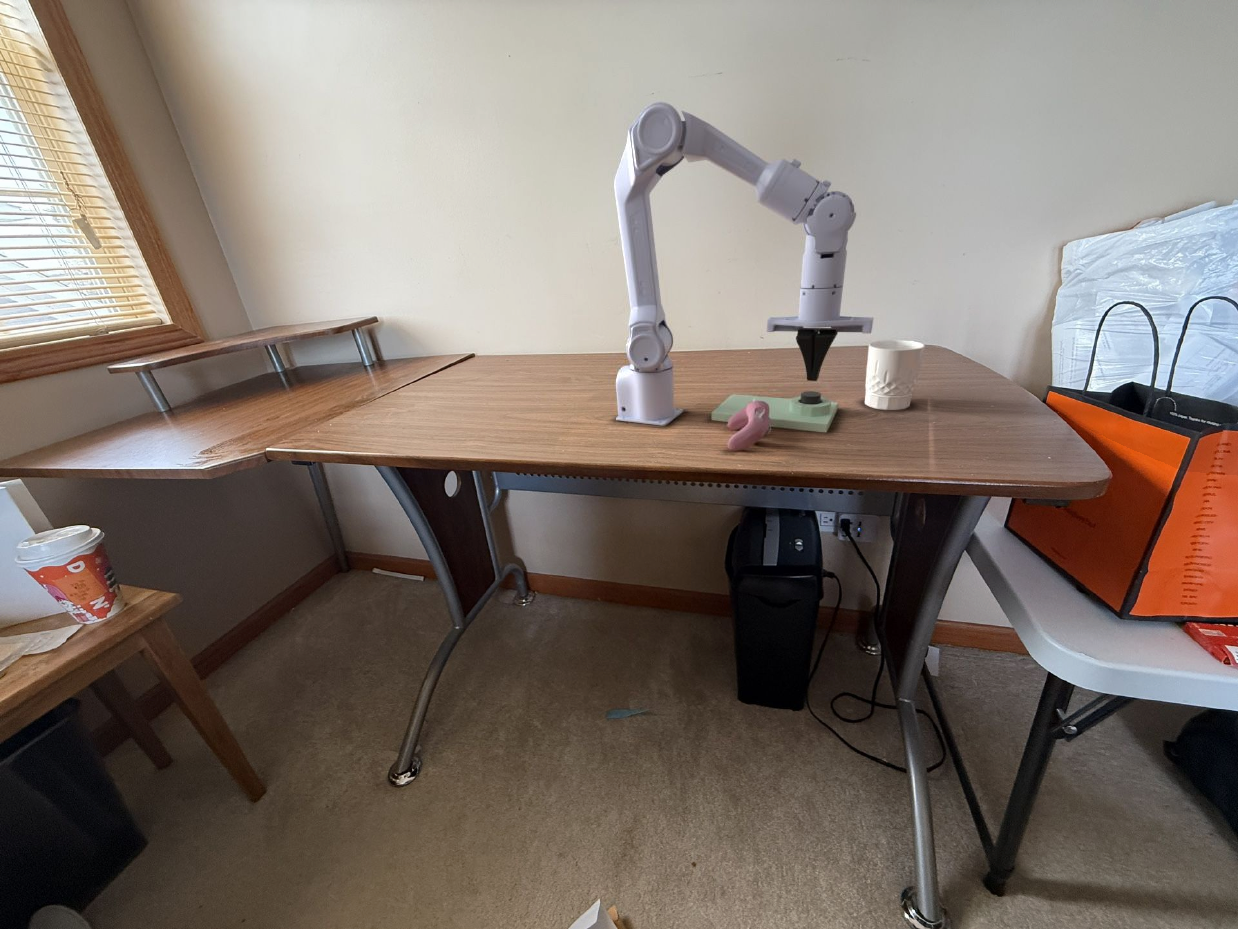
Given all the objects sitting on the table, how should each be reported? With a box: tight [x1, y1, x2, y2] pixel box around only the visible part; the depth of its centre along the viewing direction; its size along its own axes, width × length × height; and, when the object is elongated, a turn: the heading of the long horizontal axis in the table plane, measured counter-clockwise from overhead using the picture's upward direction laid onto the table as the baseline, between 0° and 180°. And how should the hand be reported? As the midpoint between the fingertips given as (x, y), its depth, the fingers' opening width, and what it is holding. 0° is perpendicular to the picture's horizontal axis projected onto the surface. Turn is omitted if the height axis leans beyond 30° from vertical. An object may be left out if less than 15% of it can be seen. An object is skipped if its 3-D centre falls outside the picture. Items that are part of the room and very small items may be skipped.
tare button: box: [800, 390, 822, 405], centre depth 76 cm, size 3×3×2 cm
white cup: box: [864, 339, 926, 411], centre depth 79 cm, size 8×8×10 cm
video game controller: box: [726, 399, 772, 452], centre depth 70 cm, size 10×5×7 cm, turn 168°
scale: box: [711, 393, 839, 433], centre depth 79 cm, size 18×11×3 cm, turn 60°
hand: (812, 379), depth 75 cm, fingers closed
